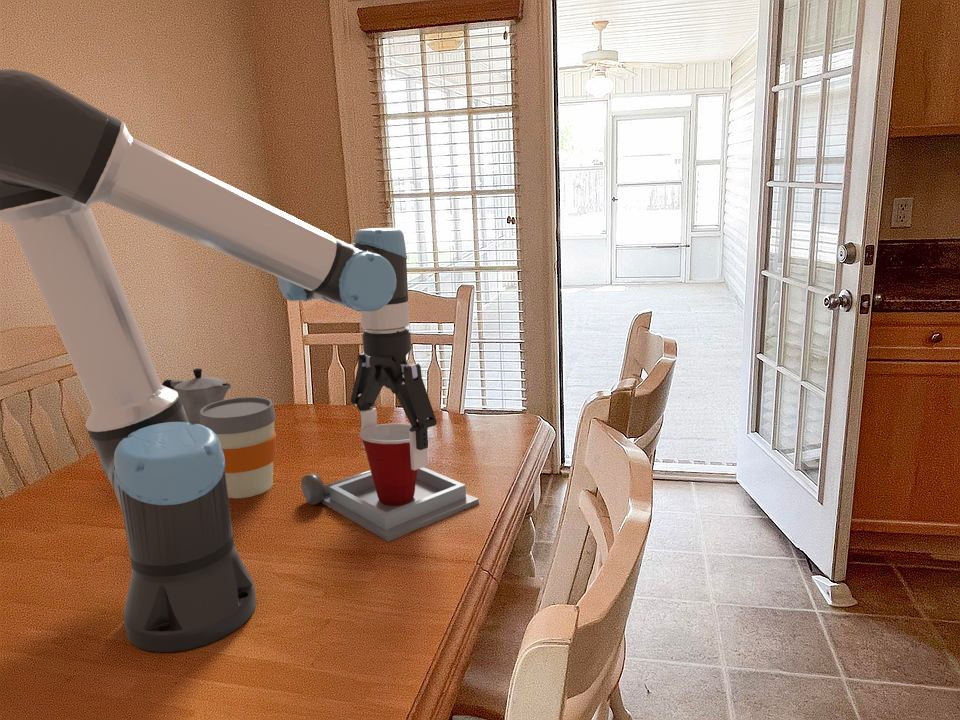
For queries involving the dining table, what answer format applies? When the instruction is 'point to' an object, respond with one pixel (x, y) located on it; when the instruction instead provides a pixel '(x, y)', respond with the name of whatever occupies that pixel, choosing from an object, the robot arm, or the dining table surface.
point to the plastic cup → (390, 462)
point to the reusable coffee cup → (244, 442)
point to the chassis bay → (388, 522)
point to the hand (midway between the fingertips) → (394, 456)
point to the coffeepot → (198, 393)
